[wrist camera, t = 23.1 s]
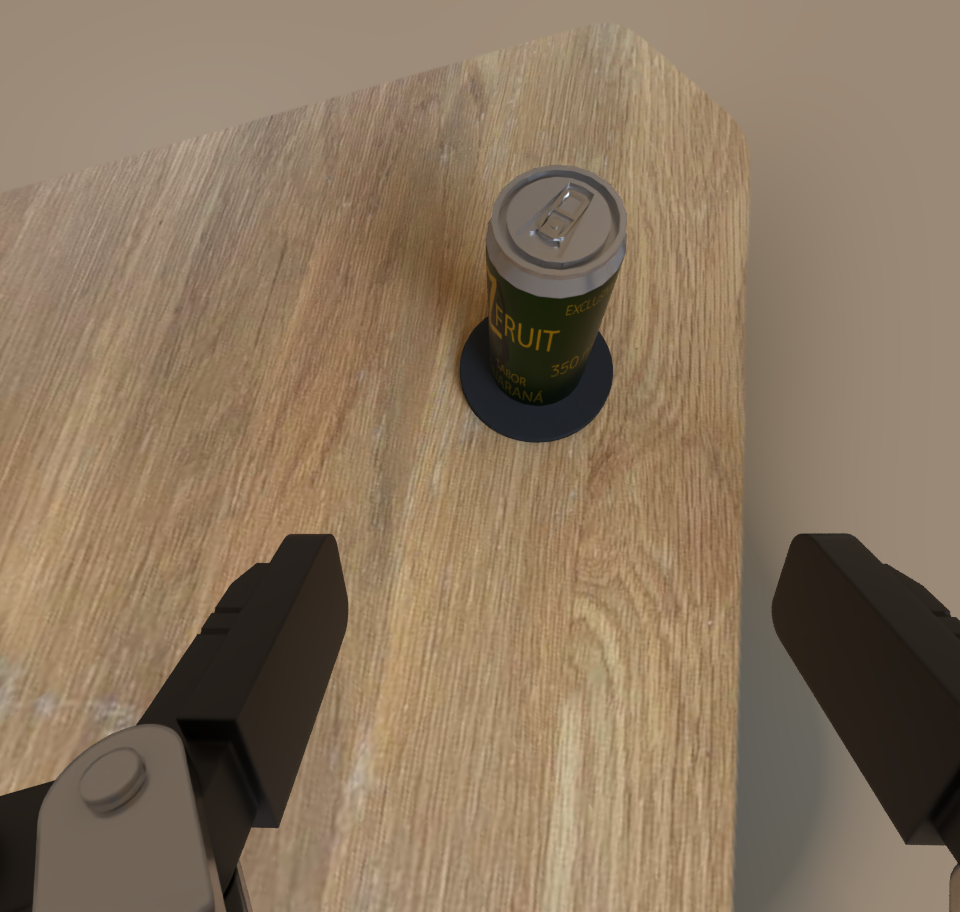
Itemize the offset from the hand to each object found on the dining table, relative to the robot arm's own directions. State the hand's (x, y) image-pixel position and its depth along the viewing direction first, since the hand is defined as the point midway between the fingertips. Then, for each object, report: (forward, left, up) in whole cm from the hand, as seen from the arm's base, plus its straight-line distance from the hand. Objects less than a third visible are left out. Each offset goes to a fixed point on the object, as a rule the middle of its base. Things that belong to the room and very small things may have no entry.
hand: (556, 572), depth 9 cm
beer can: (-1, -13, -18) cm, 22 cm away
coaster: (-1, -13, -18) cm, 23 cm away
